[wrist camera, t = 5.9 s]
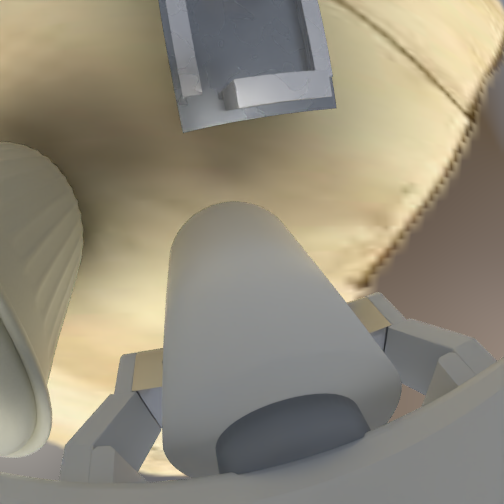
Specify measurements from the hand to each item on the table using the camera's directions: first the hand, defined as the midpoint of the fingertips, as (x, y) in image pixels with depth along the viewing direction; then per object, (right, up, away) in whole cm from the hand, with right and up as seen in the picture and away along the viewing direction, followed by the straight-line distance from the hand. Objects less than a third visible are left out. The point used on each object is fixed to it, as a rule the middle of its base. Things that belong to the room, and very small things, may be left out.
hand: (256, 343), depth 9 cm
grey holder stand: (-2, +19, +10) cm, 21 cm away
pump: (-1, +2, +3) cm, 4 cm away
